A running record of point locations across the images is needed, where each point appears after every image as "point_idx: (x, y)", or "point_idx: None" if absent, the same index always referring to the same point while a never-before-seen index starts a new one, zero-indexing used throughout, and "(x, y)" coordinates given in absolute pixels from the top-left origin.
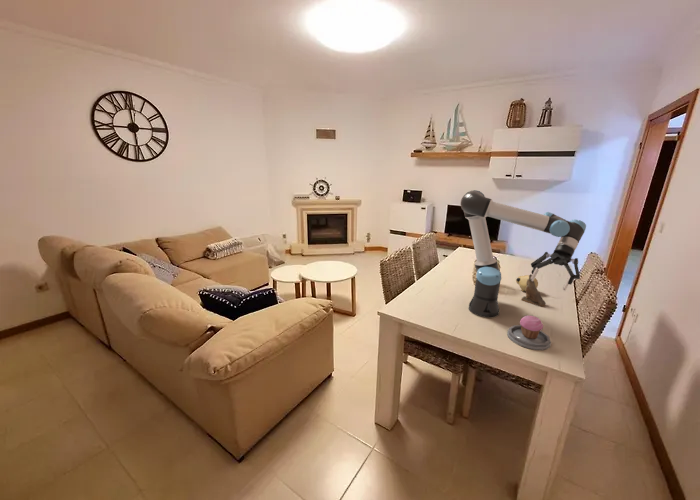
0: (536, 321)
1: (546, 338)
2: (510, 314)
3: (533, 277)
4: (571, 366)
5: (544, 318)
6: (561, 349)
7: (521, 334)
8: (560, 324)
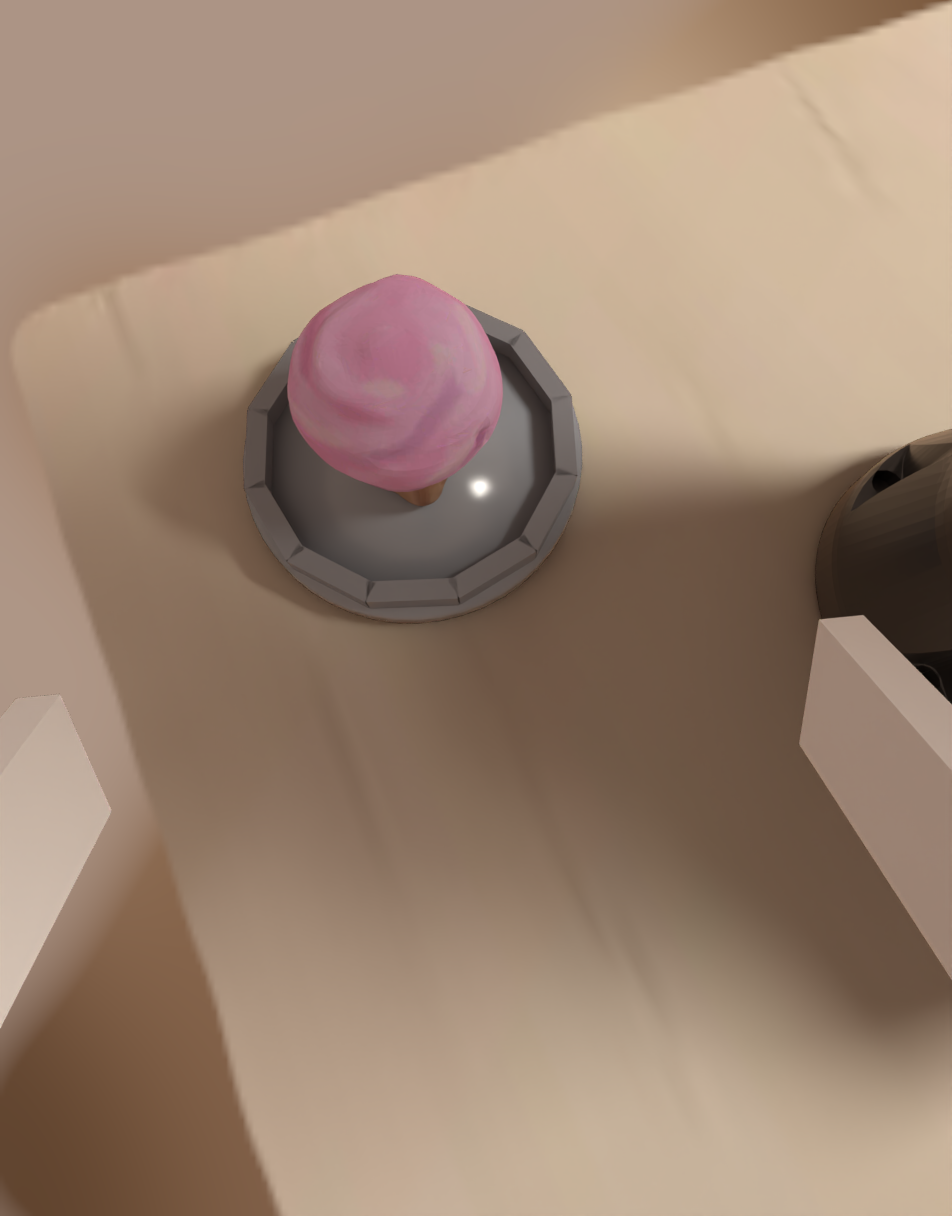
0: (327, 319)
1: (299, 540)
2: (782, 777)
3: (846, 705)
4: (60, 381)
5: (533, 1044)
6: (180, 542)
7: None
8: (363, 1054)
